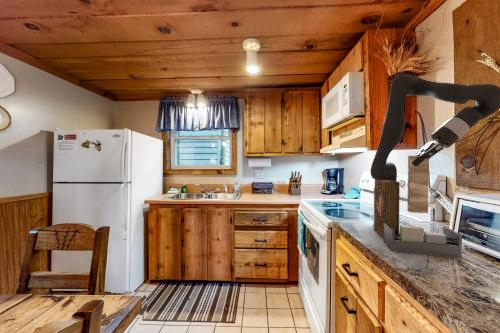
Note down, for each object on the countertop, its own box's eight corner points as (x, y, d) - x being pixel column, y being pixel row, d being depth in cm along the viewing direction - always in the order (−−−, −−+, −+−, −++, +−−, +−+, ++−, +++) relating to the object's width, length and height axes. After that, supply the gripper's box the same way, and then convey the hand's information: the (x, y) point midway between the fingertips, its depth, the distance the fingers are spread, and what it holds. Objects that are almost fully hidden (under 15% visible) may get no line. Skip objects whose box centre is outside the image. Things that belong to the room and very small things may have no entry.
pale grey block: (423, 251, 91) (424, 232, 91) (442, 252, 90) (443, 233, 89) (426, 253, 89) (426, 234, 89) (446, 255, 87) (446, 235, 87)
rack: (384, 241, 102) (384, 222, 101) (445, 247, 95) (445, 226, 95) (391, 251, 91) (391, 230, 90) (461, 258, 84) (461, 235, 84)
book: (373, 229, 120) (373, 178, 119) (385, 230, 119) (386, 179, 118) (384, 240, 104) (385, 181, 103) (398, 241, 102) (399, 181, 102)
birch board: (407, 210, 97) (408, 155, 97) (424, 211, 96) (425, 155, 95) (410, 212, 95) (410, 155, 94) (428, 213, 93) (428, 155, 92)
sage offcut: (399, 248, 94) (399, 225, 93) (420, 250, 92) (421, 226, 91) (401, 251, 91) (401, 227, 91) (423, 253, 89) (423, 228, 89)
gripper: (433, 128, 99) (399, 158, 103) (450, 122, 85) (410, 157, 89) (448, 140, 98) (413, 170, 101) (469, 137, 84) (427, 172, 88)
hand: (412, 164), depth 95 cm, fingers closed on birch board, 3 cm apart
